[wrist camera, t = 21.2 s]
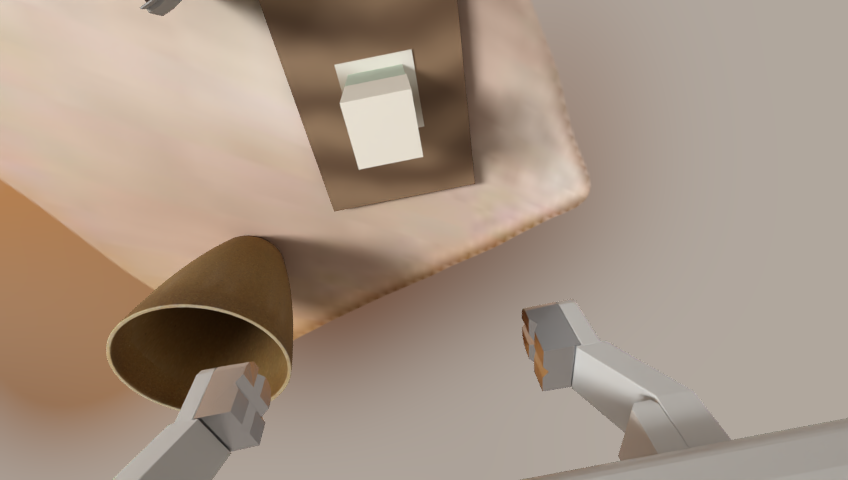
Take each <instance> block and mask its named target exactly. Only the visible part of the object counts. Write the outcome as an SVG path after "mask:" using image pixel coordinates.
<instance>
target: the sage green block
mask: <svg viewBox="0 0 848 480" xmlns="http://www.w3.org/2000/svg"><path fill="white" fill-rule="evenodd" d="M404 74H405V72H404V68H403V65H402V64H399V65H394V66H389V67H384V68H380V69H375V70H370V71H365V72H360V73H355V74H350V75H348V76H347V80H346V83H345V86H349V85H354V84H359V83H364V82H369V81H374V80H379V79H384V78H389V77H394V76H399V75H404ZM345 86H344V87H345Z"/></svg>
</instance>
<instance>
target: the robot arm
mask: <svg viewBox="0 0 848 480" xmlns="http://www.w3.org/2000/svg"><path fill="white" fill-rule="evenodd" d="M522 319H523V322H524V324H525V325H524V326H523V327H522V336H523V341H524V346H525V349H526V352H527V354H528V357H529V359H531V360H532V361H533V362H534V372H535V374H536V377H537V379H538V382H539V384H540V387H541V389H542V391H548V390H554V389H560V388H566V387H572V389H573V390H575V391H576V392H577V393H578V394H580V395H581V396H582V397H583V398H584V399H585V400H587V401H588V402H589V403H590V404H591V405H593V406H594V407H595V408H596V409H597V410H598V411H600V412H601V413H602V414H603V415H605V416H606V417H607V418H608V419H609V420H610V421H611V422H613V423H614V424H615V425H616V426H617V427H619V428H620V429H621V430H622V431H623V432H625V435H624V438H623V441H622V445H621V448H620V451H619V455H618V456H619V459H620V461H617V462H612V463H607V464H602V465H597V466H591V467H586V468H581V469H575V470H570V471H564V472H559V473H554V474H549V475H543V476H538V477H532V478H527V479H522V480H848V418H846V419H841V420H835V421H830V422H824V423H820V424H814V425H808V426H803V427H798V428H793V429H788V430H782V431H777V432H771V433H766V434H761V435H755V436H750V437H745V438H740V439H734V440H731V439H730V438H729V436H728V435H727V434H726V432H725V431H724V430H723V429H722V427H721V426H720V425H719V423H718V422H717V421H716V420H715V418H714V417H713V416H712V414H711V413H710V412H709V410H708V409H707V408H706V407H705V405H704V404H703V403H702V401H701V400H700V399H699V397H698V396H697V395H696V394H695V392H694V391H693V390H691V389H689V388H688V387H686V386H684V385H683V384H681V383H679V382H677V381H676V380H674V379H672V378H670V377H669V376H667V375H665V374H664V373H662V372H660V371H658V370H657V369H655V368H653V367H651V366H650V365H648V364H646V363H645V362H643V361H641V360H639V359H637V358H636V357H634V356H632V355H631V354H629V353H627V352H625V351H624V350H622V349H620V348H618V347H617V346H615V345H613V344H612V343H610V342H608V341H601V340H600V339H599V337H598V335H597V334H596V332H595V331H594V329H593V327H592V326H591V324H590V323H589V321H588V320H587V318H586V316H585V315H584V313H583V312H582V310H581V308H580V307H579V305H578V304H577V302H576V301H575V300H574V299H569V300H564V301H559V302H552V303H548V304H543V305H538V306H533V307H528V308H524V309H522ZM258 371H259V367H258V366H257V365H256V363H255V362H246V363H240V364H234V365H228V366H222V367H217V368H212V369H206V370H201V371H200V372H199V373H198V374H197V375H196V377H195V379H194V382H193V384H192V386H191V388H190V390H189V392H188V395H187V397H186V399H185V401H184V403H183V405H182V408H181V410H180V412H179V414H178V416H177V418H176V420H175V423H173V424H169V425H168V426H167V427H166V428H165V429H164V430H163V431H162V432H161V433H160V434H159V435H158V436H157V437H156V438H155V439H153V440H152V441H151V442H150V443H149V444H148V445H147V446H146V447H145V448H144V449H143V450H142V451H141V452H140V453H139V454H138V455H137V456H136V457H135V458H134V459H133V460H132V461H131V462H130V463H129V464H128V465H127V466H126V467H125V468H123V469H122V470H121V471H120V472H119V473H118V474H117V475H116V476H115V477H114V478H113V479H112V480H212V479H213V478H214V476H215V475H216V474H217V472H218V471H219V469H220V468H221V466H222V465H223V464H224V462H225V461H226V460H227V458H228V457H229V456H230V454H231V451H236V450H240V449H245V448H250V447H254V446H259V445H260V441H261V437H262V433H263V430H264V425H265V421H264V420H263V418H262V416H263V415H264V414H265V412H266V411H267V410H268V409H269V406H270V401H271V388H270V385H269V382H268V380H267V379H266V377H264V376H262V375H259V374H258Z"/></svg>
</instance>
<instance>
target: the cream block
mask: <svg viewBox="0 0 848 480" xmlns="http://www.w3.org/2000/svg"><path fill="white" fill-rule="evenodd" d="M340 106H341V110H342V113H343V117H344V120H345V124H346V127H347V131H348V134H349V137H350V141H351V144H352V148H353V151H354V155H355V158H356V161H357V165H358V168H359V170H360V169H365V168H370V167H375V166H380V165H385V164H390V163H395V162H400V161H405V160H410V159H415V158H420V157H423V152H422V147H421V141H420V136H419V130H418V124H417V119H416V113H415V107H414V102H413V96H412V91H411V87H410V83H409V80H408V77H407V74H404V75H399V76H394V77H389V78H384V79H379V80H374V81H369V82H364V83H359V84H354V85H349V86H345V87H344V91H343V94H342V97H341V100H340Z"/></svg>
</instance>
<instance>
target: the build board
mask: <svg viewBox="0 0 848 480" xmlns="http://www.w3.org/2000/svg"><path fill="white" fill-rule="evenodd" d="M259 2H260V5H261V8H262V11H263V13H264V16H265V19H266V22H267V25H268V27H269V30H270V33H271V36H272V39H273V41H274V44H275V47H276V50H277V53H278V55H279V58H280V61H281V64H282V67H283V69H284V72H285V75H286V78H287V81H288V83H289V86H290V89H291V92H292V95H293V97H294V100H295V103H296V106H297V109H298V111H299V114H300V117H301V120H302V123H303V125H304V128H305V131H306V134H307V137H308V139H309V142H310V145H311V148H312V150H313V153H314V156H315V159H316V162H317V164H318V167H319V170H320V173H321V176H322V178H323V181H324V184H325V187H326V190H327V192H328V195H329V198H330V201H331V204H332V206H333V209H334V211H339V210H344V209H349V208H354V207H359V206H364V205H369V204H374V203H379V202H384V201H390V200H395V199H400V198H405V197H410V196H415V195H420V194H425V193H430V192H435V191H440V190H445V189H450V188H455V187H460V186H465V185H471V184H475V180H474V170H473V159H472V149H471V138H470V128H469V118H468V107H467V97H466V86H465V76H464V66H463V55H462V45H461V34H460V24H459V14H458V3H457V0H259ZM399 64H402V65H403V68H404V72H405V74H407V77H408V80H409V83H410V87H411V91H412V96H413V102H414V107H415V113H416V119H417V124H418V130H419V136H420V141H421V147H422V152H423V157H420V158H415V159H410V160H405V161H400V162H395V163H390V164H385V165H380V166H375V167H370V168H365V169H360V170H359V168H358V165H357V161H356V158H355V155H354V151H353V148H352V144H351V141H350V137H349V134H348V131H347V127H346V124H345V120H344V117H343V113H342V110H341V106H340V100H341V97H342V94H343V91H344V86H345V83H346V80H347V76H348V75H350V74H355V73H360V72H365V71H370V70H375V69H380V68H384V67H389V66H394V65H399Z"/></svg>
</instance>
